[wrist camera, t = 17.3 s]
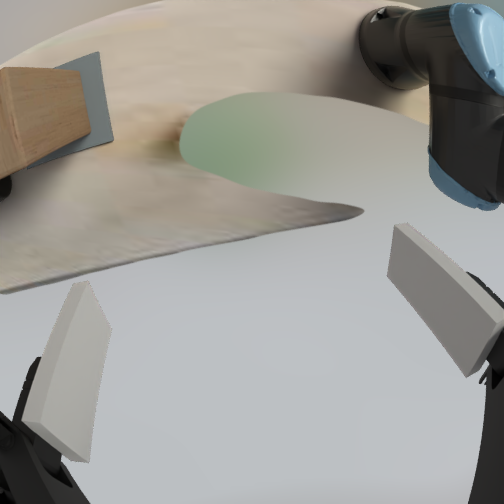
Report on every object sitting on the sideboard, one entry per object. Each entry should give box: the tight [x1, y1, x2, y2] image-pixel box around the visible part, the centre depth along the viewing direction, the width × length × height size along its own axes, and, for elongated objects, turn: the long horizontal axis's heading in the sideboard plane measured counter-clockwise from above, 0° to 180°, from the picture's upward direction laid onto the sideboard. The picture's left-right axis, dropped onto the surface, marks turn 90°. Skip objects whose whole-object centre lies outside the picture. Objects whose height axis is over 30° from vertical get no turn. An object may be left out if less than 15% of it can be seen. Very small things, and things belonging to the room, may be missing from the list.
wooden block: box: [0, 67, 91, 179], centre depth 26 cm, size 10×10×20 cm
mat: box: [27, 52, 114, 169], centre depth 34 cm, size 16×14×1 cm
